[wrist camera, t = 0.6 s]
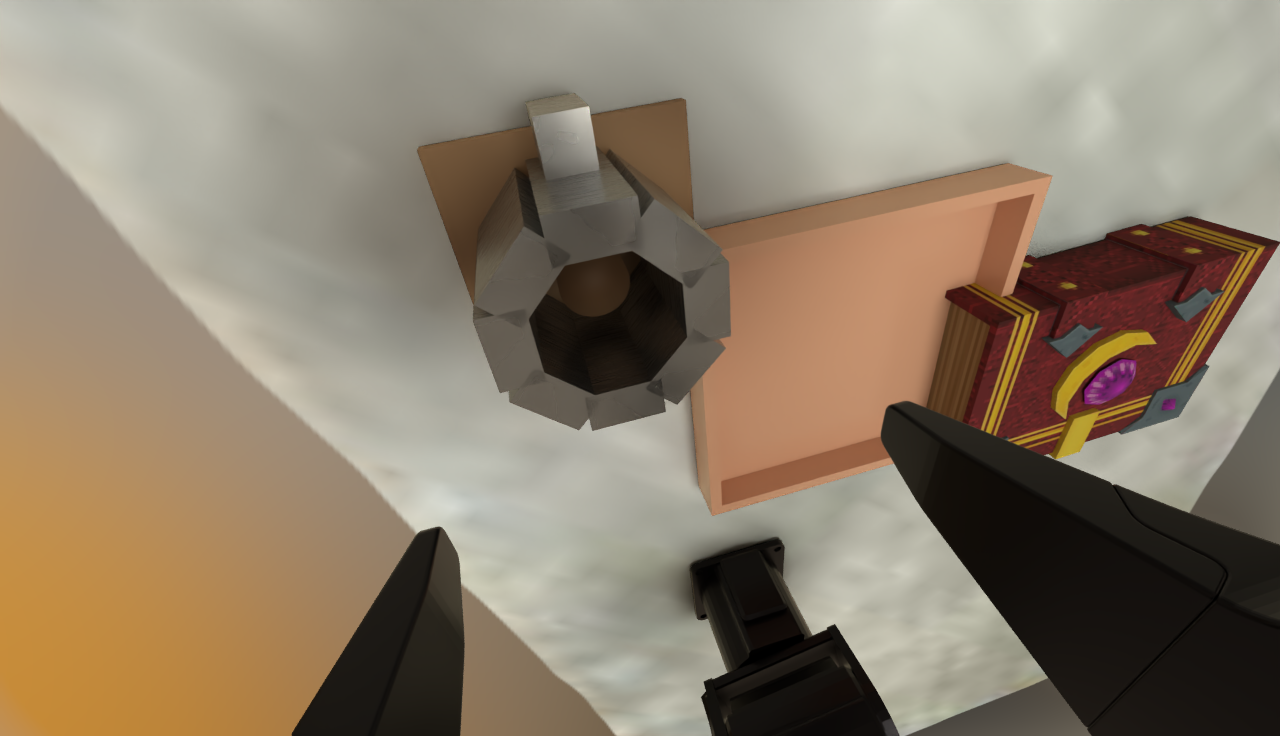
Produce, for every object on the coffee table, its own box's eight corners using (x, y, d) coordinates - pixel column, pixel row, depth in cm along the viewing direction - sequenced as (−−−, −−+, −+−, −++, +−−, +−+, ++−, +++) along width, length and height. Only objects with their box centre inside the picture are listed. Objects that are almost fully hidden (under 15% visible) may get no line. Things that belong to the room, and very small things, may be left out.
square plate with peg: (696, 319, 23) (725, 361, 20) (498, 367, 22) (499, 418, 19) (681, 98, 18) (717, 113, 15) (418, 146, 17) (404, 173, 14)
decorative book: (928, 277, 26) (1010, 325, 22) (1204, 202, 27) (1327, 234, 23) (897, 438, 32) (954, 498, 28) (1119, 371, 34) (1203, 418, 30)
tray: (934, 419, 31) (961, 443, 30) (698, 486, 30) (712, 515, 28) (1008, 163, 22) (1052, 175, 21) (676, 235, 21) (694, 256, 19)
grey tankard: (679, 311, 22) (732, 394, 17) (513, 351, 21) (520, 449, 16) (657, 78, 17) (725, 103, 12) (436, 117, 16) (413, 162, 11)
